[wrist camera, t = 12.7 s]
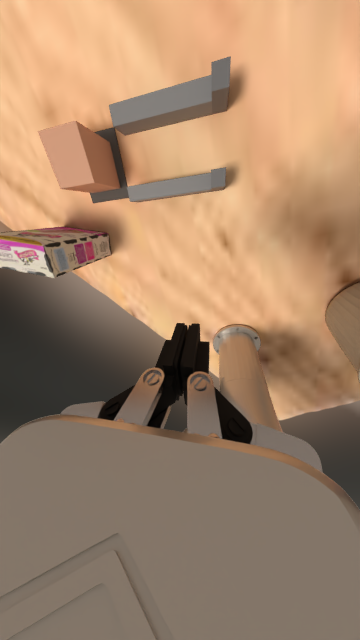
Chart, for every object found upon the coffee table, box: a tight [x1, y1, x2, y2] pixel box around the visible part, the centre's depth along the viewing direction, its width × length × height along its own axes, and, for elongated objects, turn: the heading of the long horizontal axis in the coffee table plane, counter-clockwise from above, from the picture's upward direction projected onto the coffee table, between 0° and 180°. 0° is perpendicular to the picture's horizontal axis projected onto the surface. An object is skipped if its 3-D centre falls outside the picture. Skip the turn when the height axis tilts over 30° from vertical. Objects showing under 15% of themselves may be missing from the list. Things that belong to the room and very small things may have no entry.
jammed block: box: [38, 121, 120, 193], centre depth 26 cm, size 6×6×8 cm
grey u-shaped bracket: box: [109, 56, 231, 202], centre depth 24 cm, size 11×16×6 cm
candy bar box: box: [0, 227, 111, 278], centre depth 30 cm, size 11×5×16 cm, turn 85°
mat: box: [90, 128, 129, 203], centre depth 29 cm, size 9×8×1 cm
